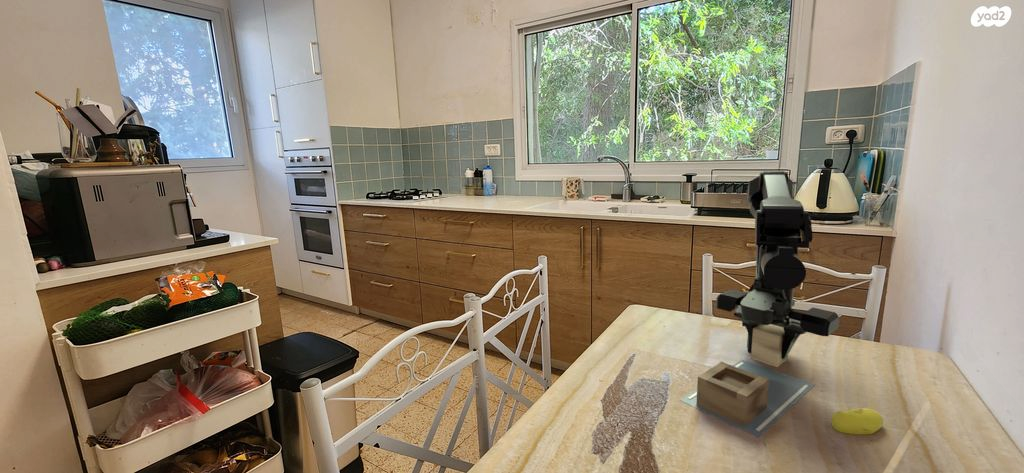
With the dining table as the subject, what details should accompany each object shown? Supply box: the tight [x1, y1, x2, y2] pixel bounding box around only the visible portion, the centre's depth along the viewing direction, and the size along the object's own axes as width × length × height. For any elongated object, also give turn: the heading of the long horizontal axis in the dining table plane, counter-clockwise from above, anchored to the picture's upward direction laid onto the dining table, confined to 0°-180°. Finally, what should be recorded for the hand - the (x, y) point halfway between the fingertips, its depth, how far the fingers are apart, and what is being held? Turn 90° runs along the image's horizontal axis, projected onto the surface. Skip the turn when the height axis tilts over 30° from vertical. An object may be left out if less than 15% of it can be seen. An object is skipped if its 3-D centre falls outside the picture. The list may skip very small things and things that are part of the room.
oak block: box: [750, 324, 789, 368], centre depth 79 cm, size 4×4×6 cm
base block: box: [696, 361, 769, 427], centre depth 72 cm, size 8×8×5 cm
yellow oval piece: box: [831, 407, 884, 435], centre depth 66 cm, size 4×8×4 cm, turn 94°
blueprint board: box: [679, 359, 816, 438], centre depth 76 cm, size 23×13×1 cm, turn 127°
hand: (769, 353), depth 80 cm, fingers closed on oak block, 4 cm apart
